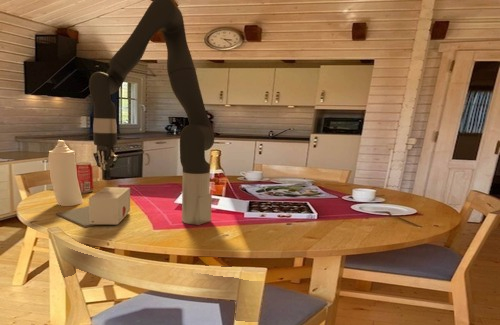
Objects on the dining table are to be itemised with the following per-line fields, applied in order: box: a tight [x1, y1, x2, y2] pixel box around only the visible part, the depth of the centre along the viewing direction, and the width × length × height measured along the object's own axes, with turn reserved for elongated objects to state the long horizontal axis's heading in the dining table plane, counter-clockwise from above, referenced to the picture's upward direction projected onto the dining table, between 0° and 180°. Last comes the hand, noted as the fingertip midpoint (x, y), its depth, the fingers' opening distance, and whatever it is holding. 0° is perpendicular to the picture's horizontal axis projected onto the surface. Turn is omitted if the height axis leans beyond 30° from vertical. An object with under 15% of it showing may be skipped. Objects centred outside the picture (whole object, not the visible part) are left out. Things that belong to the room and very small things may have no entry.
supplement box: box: [88, 186, 131, 225], centre depth 108 cm, size 9×9×15 cm
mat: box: [55, 205, 127, 228], centre depth 111 cm, size 20×14×1 cm
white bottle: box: [48, 139, 84, 207], centre depth 123 cm, size 12×11×25 cm
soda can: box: [76, 161, 94, 194], centre depth 144 cm, size 7×7×13 cm
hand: (106, 179), depth 115 cm, fingers closed
